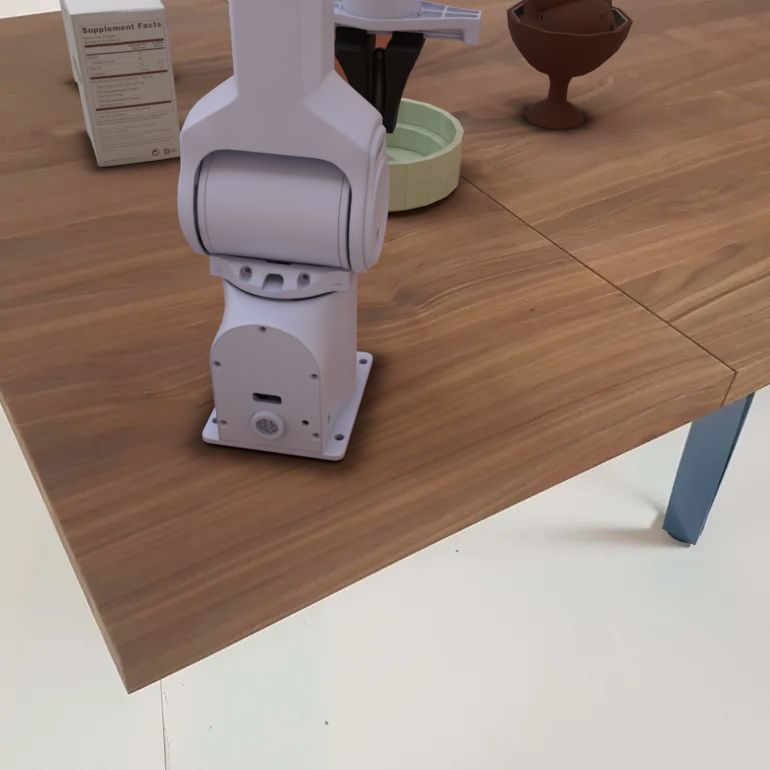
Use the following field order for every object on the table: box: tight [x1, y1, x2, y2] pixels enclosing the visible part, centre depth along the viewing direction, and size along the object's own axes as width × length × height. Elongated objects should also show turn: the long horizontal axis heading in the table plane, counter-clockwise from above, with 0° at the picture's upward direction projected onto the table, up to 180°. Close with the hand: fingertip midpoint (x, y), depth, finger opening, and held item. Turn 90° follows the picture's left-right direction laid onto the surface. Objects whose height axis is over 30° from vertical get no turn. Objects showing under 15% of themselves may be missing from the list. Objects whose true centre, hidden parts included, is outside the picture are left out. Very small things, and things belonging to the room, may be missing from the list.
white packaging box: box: [62, 0, 181, 168], centre depth 76 cm, size 7×7×13 cm
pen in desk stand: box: [372, 47, 396, 161], centre depth 72 cm, size 3×3×11 cm
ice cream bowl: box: [506, 0, 634, 130], centre depth 83 cm, size 11×11×15 cm
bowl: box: [386, 97, 465, 213], centre depth 75 cm, size 13×13×4 cm
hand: (378, 127), depth 72 cm, fingers closed on pen in desk stand
